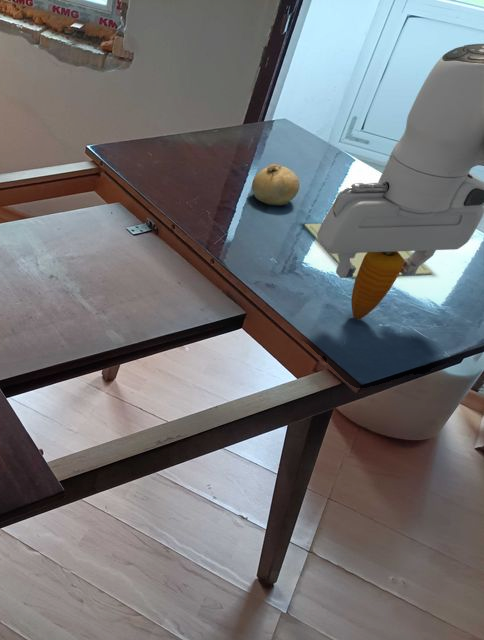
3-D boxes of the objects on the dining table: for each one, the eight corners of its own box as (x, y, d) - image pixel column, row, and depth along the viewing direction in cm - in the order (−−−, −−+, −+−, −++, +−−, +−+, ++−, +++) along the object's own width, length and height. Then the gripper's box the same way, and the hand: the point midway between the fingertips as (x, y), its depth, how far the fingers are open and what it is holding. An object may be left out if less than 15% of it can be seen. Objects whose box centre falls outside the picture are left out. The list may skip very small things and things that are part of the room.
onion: (262, 186, 130) (273, 150, 125) (301, 201, 126) (313, 165, 121) (240, 199, 125) (251, 163, 120) (280, 216, 121) (292, 179, 116)
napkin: (431, 273, 109) (432, 272, 109) (351, 278, 107) (352, 276, 107) (376, 222, 121) (377, 221, 121) (303, 225, 119) (304, 223, 119)
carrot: (330, 312, 100) (370, 222, 90) (356, 305, 101) (398, 216, 92) (355, 333, 96) (400, 241, 87) (381, 325, 98) (428, 234, 88)
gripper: (356, 196, 81) (315, 290, 90) (507, 193, 84) (453, 284, 93) (330, 171, 86) (294, 263, 95) (474, 169, 89) (426, 259, 98)
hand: (374, 274), depth 94 cm, fingers open, 8 cm apart
